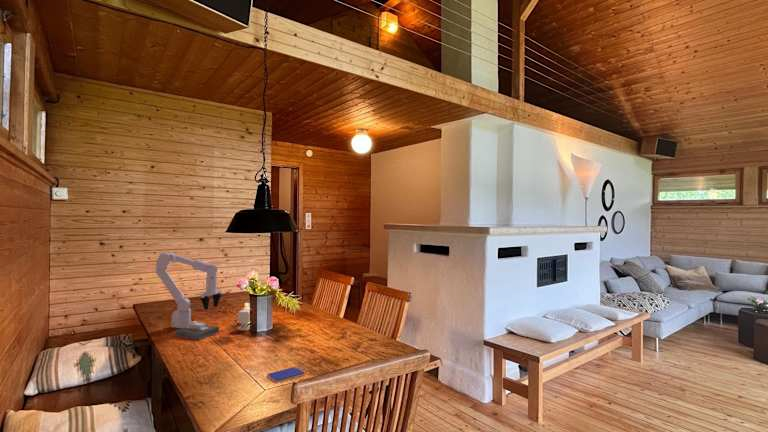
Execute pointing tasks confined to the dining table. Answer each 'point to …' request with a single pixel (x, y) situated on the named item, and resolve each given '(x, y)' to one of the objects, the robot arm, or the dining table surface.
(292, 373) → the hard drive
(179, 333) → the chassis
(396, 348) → the dining table surface
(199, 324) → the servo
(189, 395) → the dining table surface
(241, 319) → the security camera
